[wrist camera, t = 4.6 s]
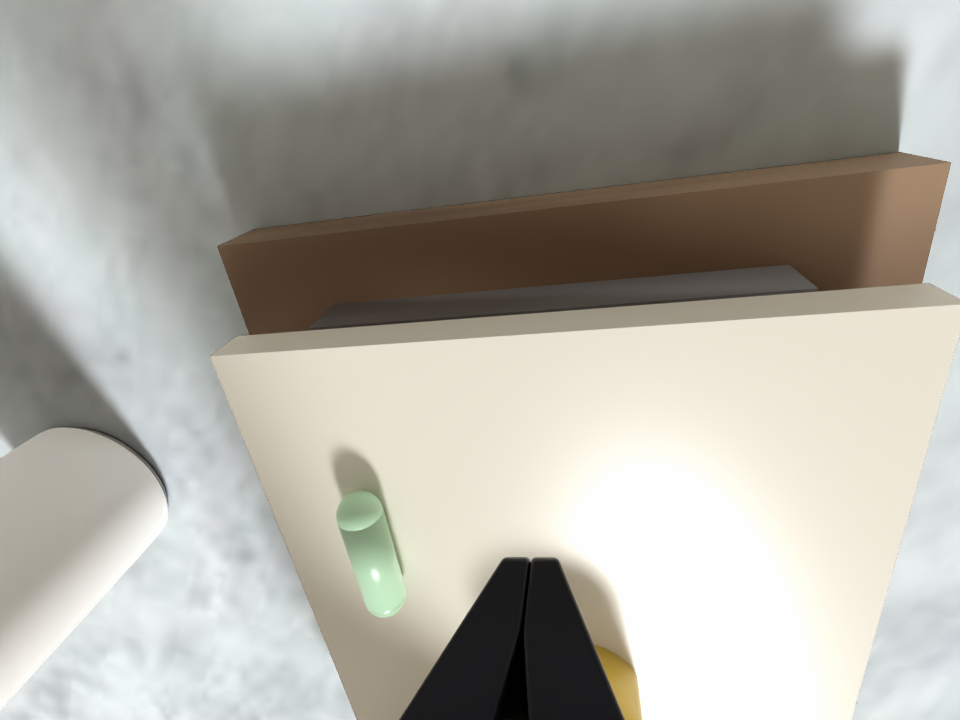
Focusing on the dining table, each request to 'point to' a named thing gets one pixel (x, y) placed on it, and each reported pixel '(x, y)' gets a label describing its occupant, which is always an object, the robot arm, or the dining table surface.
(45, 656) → the can
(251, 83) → the dining table surface
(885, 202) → the walnut base
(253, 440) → the plate
